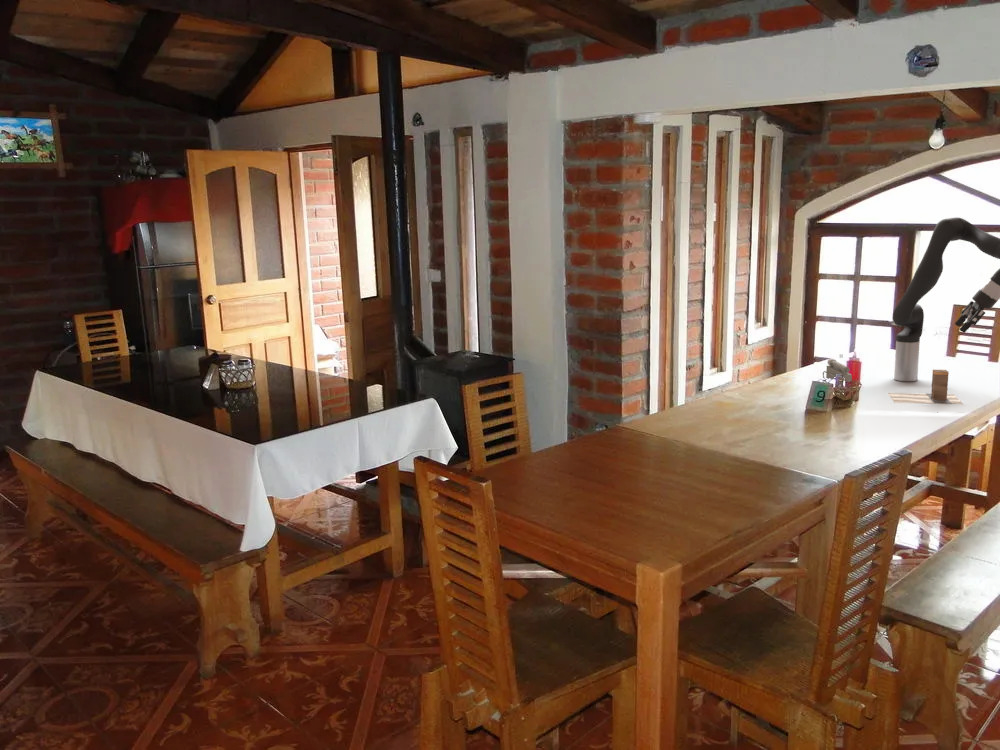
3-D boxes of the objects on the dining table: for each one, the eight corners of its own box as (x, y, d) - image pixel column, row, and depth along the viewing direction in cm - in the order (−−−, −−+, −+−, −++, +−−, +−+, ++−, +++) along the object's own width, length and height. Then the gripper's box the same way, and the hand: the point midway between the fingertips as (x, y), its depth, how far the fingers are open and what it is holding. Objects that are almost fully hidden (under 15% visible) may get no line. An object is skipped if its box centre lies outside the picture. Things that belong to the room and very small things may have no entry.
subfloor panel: (887, 396, 335) (887, 392, 335) (953, 397, 328) (953, 393, 328) (894, 406, 320) (894, 402, 320) (963, 407, 313) (963, 403, 313)
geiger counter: (855, 367, 329) (831, 355, 353) (839, 367, 329) (816, 356, 353) (853, 400, 332) (830, 387, 356) (837, 401, 332) (815, 387, 356)
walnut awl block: (931, 396, 326) (932, 369, 323) (944, 397, 324) (945, 369, 322) (933, 399, 321) (935, 372, 319) (946, 399, 320) (948, 372, 318)
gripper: (976, 284, 319) (946, 318, 326) (985, 293, 306) (954, 327, 313) (993, 295, 319) (963, 328, 325) (1003, 303, 306) (972, 338, 312)
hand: (959, 328), depth 319 cm, fingers open, 8 cm apart
